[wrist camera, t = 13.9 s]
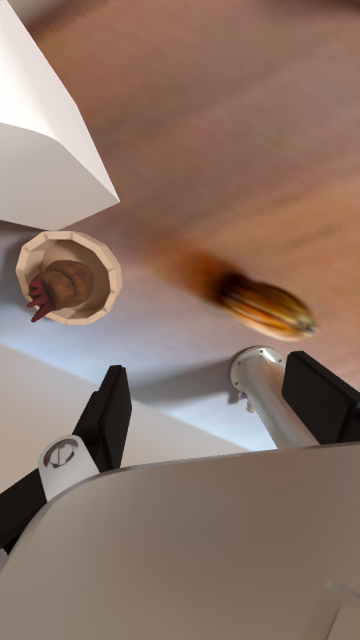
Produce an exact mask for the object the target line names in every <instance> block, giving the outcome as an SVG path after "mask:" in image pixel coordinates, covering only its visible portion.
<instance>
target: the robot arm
mask: <svg viewBox="0 0 360 640" xmlns="http://www.w3.org/2000/svg"><path fill="white" fill-rule="evenodd" d="M230 379H231V382H232V384H233V385H234V387H235V388H236V389H237V390H239V391H241V392H243V393H245V394H246V395H247V400H248V402H247V408H246V409H247V411H248V412H250V413H253V412H255V410H256V412H257V414H258V415H259V417H260V419H261V421H262V422H263V424H264V426H265V427H266V429H267V431H268V433H269V434H270V436H271V438H272V440H273V441H274V443H275V445H276V447H277V448H278V449H275V450H265V451H255V452H246V453H236V454H227V455H218V456H209V457H200V458H191V459H183V460H173V461H165V462H158V463H150V464H142V465H135V466H129V467H124V468H120V465H121V460H122V455H123V450H124V446H125V441H126V436H127V431H128V426H129V421H130V417H131V412H132V404H131V398H130V392H129V386H128V380H127V374H126V369H125V367H122V366H121V365H112V366H110V367H109V369H108V371H107V374H106V376H105V378H104V380H103V382H102V384H101V386H100V388H99V391H95V392H93V394H92V395H91V397H90V399H89V401H88V403H87V405H86V407H85V409H84V411H83V413H82V415H81V417H80V419H79V421H78V423H77V425H76V427H75V429H74V431H73V433H72V435H68V436H64V437H61V438H60V439H57V440H56V441H54V442H53V443H51V444H50V445H49V446H48V447H47V448H46V449H45V450H44V451H43V453H42V454H41V456H40V458H39V461H38V468H37V469H35V470H34V471H32V472H31V473H30V474H28V475H27V476H25V477H24V478H22V479H21V480H19V481H18V482H17V483H15V484H14V485H12V486H11V487H10V488H8V489H7V490H5V491H4V492H2V493H1V494H0V640H360V393H359V392H358V391H357V390H355V389H354V388H353V387H351V386H350V385H349V384H347V383H346V382H344V381H343V380H342V379H340V378H339V377H338V376H336V375H335V374H334V373H332V372H331V371H330V370H328V369H327V368H325V367H324V366H323V365H321V364H320V363H319V362H317V361H316V360H315V359H313V358H312V357H311V356H309V355H308V354H306V353H305V352H304V351H293V352H291V353H290V354H289V355H288V356H287V362H286V368H285V369H284V360H283V358H282V356H281V355H280V354H279V353H278V352H277V351H276V350H274V349H273V348H270V347H266V346H257V347H253V348H250V349H248V350H246V351H244V352H242V353H241V354H240V355H239V356H238V357H237V358H236V359H235V360H234V362H233V363H232V365H231V368H230Z"/></svg>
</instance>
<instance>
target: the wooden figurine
mask: <svg viewBox="0 0 360 640" xmlns="http://www.w3.org/2000/svg"><path fill="white" fill-rule="evenodd" d="M93 282H94V281H93V275H92V272H91V270H90V269H89V268H88V267H87V266H86V265H84V264H82V263H80V262H77V261H72V260H56V261H54V262H52V263H51V264H50V265H49V266H47V268H46V270H45V272H41V273H39V274H37V275H36V276H35V277H34V278H33V279H32V281H31V283H30V284H29V293H28V295H29V296H30V297H31V298H32V301H31V302H30V303H29V304H27V307H32V306H38V307H40V308H39V309H38V311H37V312H36V314H35V315H34V317H33V318H32V320H31V321H32V322H36V321H37V320H39V319H40V318H42V317H43V316H45V315H46V314H48V313H50V312H51V311H57V310H61V309H63V308H71V307H76V306H79V305H80V304H82V303H83V302H85V301H86V300H87V299H88V298H89V296H90V294H91V292H92V289H93Z"/></svg>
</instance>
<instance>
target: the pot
mask: <svg viewBox="0 0 360 640" xmlns="http://www.w3.org/2000/svg"><path fill="white" fill-rule="evenodd" d="M56 260H72V261H77V262H80V263H82V264H84V265H86V266H87V267H88V268H89V269H90V270H91V272H92V275H93V281H94V282H93V289H92V292H91V294H90V296H89V298H88V299H87V300H86V301H85V302H83V303H82V304H80V305H79V306H76V307H71V308H63V309H61V310H57V311H51V312H50V313H48V314H46V315H45V316H46V317H48V318H51V319H53V320H55V321H58V322H60V323H63V324H65V325H78V324H91V323H92V322H94V321H96V320H97V319H99V318H101V317H102V316H104V315H105V314H107V313H109V311H110V310H111V309H112V307H113V306H114V304H115V302H116V300H117V298H118V296H119V294H120V291H121V289H122V287H123V285H122V276H121V268H120V264H119V263H118V261H117V260H116V258H115V257H114V256H113V254H112V253H111V251H110V250H109V248H108V247H107V246H106V245H105V244H103V243H101V242H99V241H98V240H96V239H94V238H92V237H90V236H88V235H87V234H85V233H81V232H73V231H43V232H42V233H40V234H39V235H38V236H36V237H35V238H33V239H32V240H31V241H29V242H28V243H26V244H25V245H23V246H22V249H21V253H20V256H19V260H18V263H17V267H16V270H15V271H16V274H17V277H18V280H19V283H20V286H21V290H22V293H23V296H24V297H25V298H26V299H27V300H28V301H29V302H31V301H32V298H31V297H30V296H29V295H28V293H29V284H30V283H31V281H32V279H33V278H34V277H35V276H36V275H37V274H39V273H41V272H45V270H46V268H47V266H49V265H50V264H51V263H52V262H54V261H56ZM34 307H35V308H36V309H37V310H38V309H39V308H40V307H38V306H34Z"/></svg>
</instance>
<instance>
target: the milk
mask: <svg viewBox="0 0 360 640" xmlns="http://www.w3.org/2000/svg"><path fill="white" fill-rule="evenodd" d="M119 202H120V200H119V198H118V196H117V194H116V192H115V189H114V187H113V185H112V183H111V181H110V178H109V176H108V174H107V172H106V170H105V167H104V165H103V163H102V161H101V159H100V156H99V154H98V152H97V150H96V147H95V145H94V143H93V141H92V139H91V136H90V134H89V132H88V130H87V128H86V125H85V123H84V121H83V119H82V117H81V114H80V112H79V110H78V108H77V106H76V104H75V102H74V101H73V99H72V98H71V96H70V95H69V93H68V92H67V90H66V89H65V87H64V86H63V84H62V83H61V81H60V80H59V78H58V77H57V75H56V74H55V72H54V71H53V69H52V68H51V66H50V65H49V63H48V62H47V60H46V59H45V57H44V56H43V54H42V53H41V51H40V50H39V48H38V47H37V45H36V44H35V42H34V41H33V39H32V38H31V36H30V35H29V33H28V32H27V30H26V29H25V27H24V25H23V24H22V22H21V21H20V20H19V18H18V16H17V15H16V14H15V12H14V11H13V9H12V8H11V6H10V5H9V3H8V2H7V0H0V220H4V221H8V222H13V223H17V224H21V225H26V226H30V227H35V228H39V229H44V230H48V231H58V230H60V229H62V228H64V227H67V226H69V225H71V224H73V223H75V222H78V221H80V220H82V219H84V218H86V217H89V216H91V215H93V214H95V213H97V212H99V211H102V210H104V209H106V208H108V207H110V206H113V205H115V204H117V203H119Z"/></svg>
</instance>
